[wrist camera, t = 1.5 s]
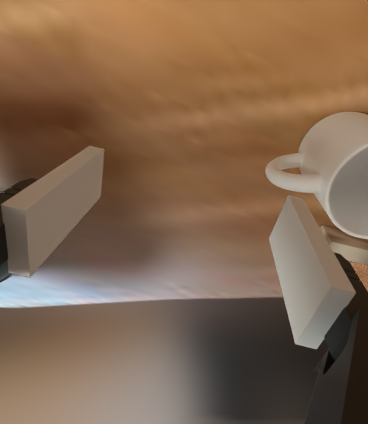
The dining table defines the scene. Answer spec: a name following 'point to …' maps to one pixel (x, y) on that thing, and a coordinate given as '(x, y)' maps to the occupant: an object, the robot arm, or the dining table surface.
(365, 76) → the dining table surface
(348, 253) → the dock
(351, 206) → the mug
